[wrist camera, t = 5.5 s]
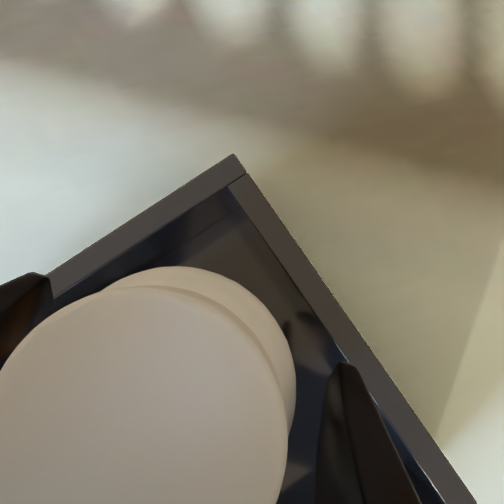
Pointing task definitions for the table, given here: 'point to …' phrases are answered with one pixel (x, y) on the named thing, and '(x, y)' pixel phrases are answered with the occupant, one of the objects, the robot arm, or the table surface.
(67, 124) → the table surface
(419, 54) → the table surface
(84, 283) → the tray
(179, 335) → the pill bottle
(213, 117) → the table surface
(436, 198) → the table surface
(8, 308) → the robot arm
